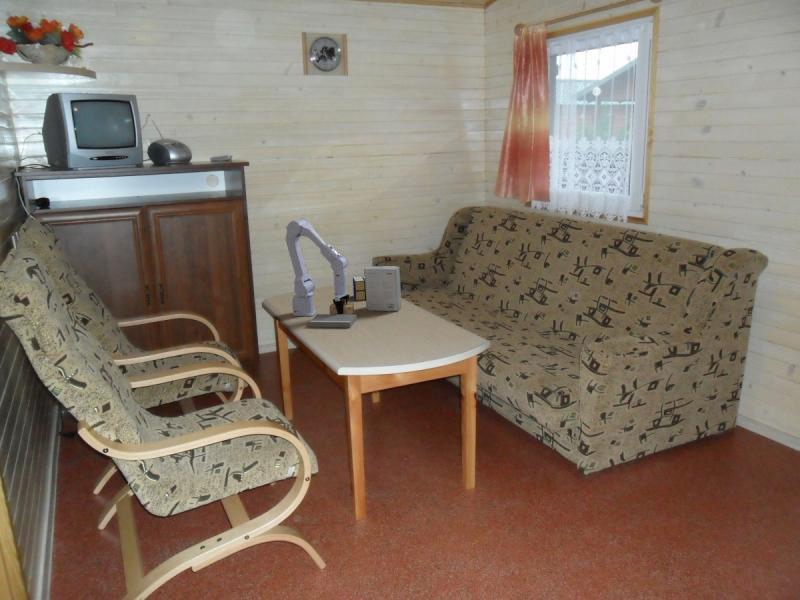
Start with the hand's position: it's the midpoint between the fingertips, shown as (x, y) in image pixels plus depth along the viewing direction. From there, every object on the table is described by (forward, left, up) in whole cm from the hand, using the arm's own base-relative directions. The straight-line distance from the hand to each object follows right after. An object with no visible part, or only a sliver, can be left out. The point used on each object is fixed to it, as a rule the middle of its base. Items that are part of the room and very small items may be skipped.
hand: (342, 312), depth 296 cm
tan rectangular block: (0, 0, -2) cm, 2 cm away
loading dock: (-1, -12, -2) cm, 12 cm away
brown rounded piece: (0, 0, +3) cm, 3 cm away
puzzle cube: (+3, +34, -2) cm, 34 cm away
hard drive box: (+17, +13, -2) cm, 21 cm away
